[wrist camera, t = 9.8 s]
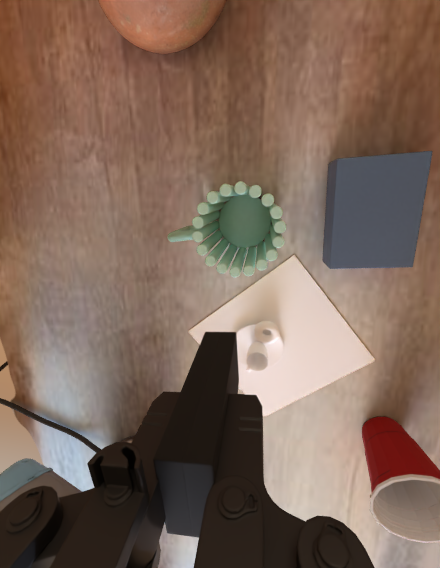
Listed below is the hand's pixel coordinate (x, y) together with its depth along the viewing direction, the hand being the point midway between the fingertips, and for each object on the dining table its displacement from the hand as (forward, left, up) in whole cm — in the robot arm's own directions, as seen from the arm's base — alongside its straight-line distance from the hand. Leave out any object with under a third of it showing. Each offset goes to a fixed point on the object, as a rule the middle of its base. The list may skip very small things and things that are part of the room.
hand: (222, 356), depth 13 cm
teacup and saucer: (+4, -14, -25) cm, 29 cm away
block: (+14, +5, -25) cm, 29 cm away
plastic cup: (+20, -29, -25) cm, 44 cm away
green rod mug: (+5, +5, -23) cm, 24 cm away
